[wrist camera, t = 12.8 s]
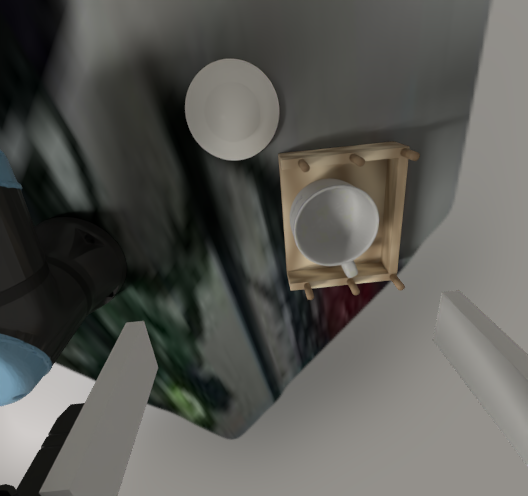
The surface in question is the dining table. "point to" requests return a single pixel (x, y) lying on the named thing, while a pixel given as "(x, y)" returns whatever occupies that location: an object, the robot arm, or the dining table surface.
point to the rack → (365, 178)
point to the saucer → (232, 109)
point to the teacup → (334, 223)
